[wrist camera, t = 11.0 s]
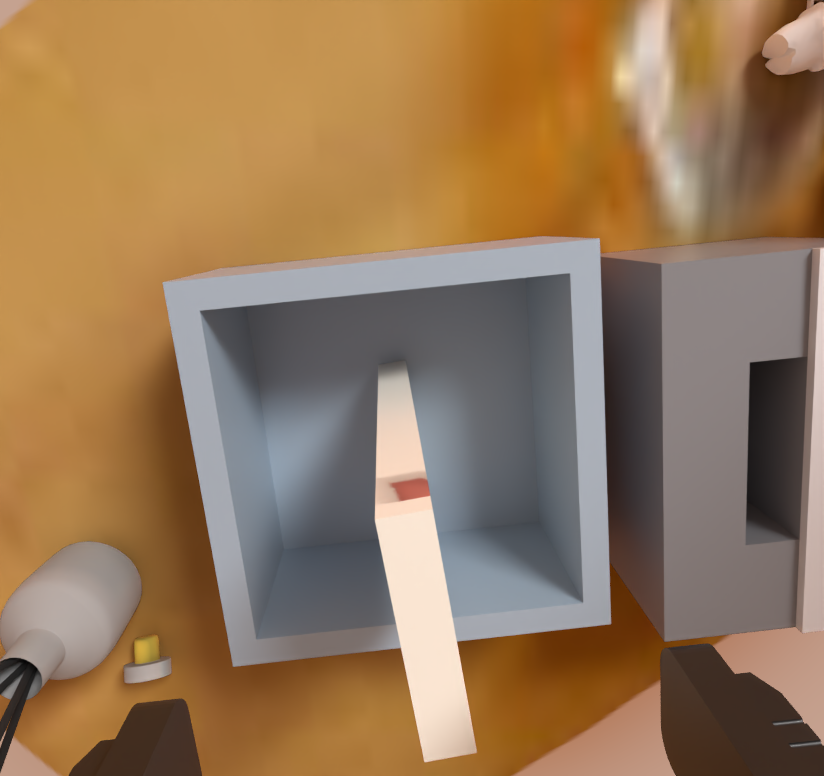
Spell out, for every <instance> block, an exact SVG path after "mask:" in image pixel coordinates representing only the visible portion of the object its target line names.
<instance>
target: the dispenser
mask: <svg viewBox="0 0 824 776" xmlns="http://www.w3.org/2000/svg"><path fill="white" fill-rule="evenodd" d="M600 263H601V297H602V331H603V365H604V399H605V433H606V467H607V501H608V535H609V562H610V563H611V565H612V566H613V567H614V569H615V570H616V572H617V573H618V575H619V576H620V578H621V579H622V581H623V582H624V583H625V585H626V586H627V588H628V589H629V591H630V592H631V594H632V595H633V597H634V598H635V599H636V601H637V602H638V604H639V605H640V607H641V608H642V610H643V611H644V613H645V614H646V616H647V617H648V618H649V620H650V621H651V623H652V624H653V626H654V627H655V629H656V630H657V632H658V633H659V634H660V636H661V637H662V639H663V640H664V642H668V641H676V640H685V639H694V638H703V637H712V636H720V635H729V634H738V633H747V632H755V631H764V630H773V629H782V628H791V627H796V628H797V629H798V630H800V632H802V633H809V632H817V631H824V238H799V237H759V238H749V239H740V240H730V241H720V242H710V243H700V244H690V245H680V246H670V247H660V248H650V249H640V250H631V251H621V252H611V253H601V254H600Z"/></svg>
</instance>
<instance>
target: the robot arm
mask: <svg viewBox="0 0 824 776" xmlns="http://www.w3.org/2000/svg"><path fill="white" fill-rule="evenodd" d="M660 672H661V731H662V738H663V742H664V747H665V750H666V754H667V756H668V760H669V762H670V765H671V767H672V769H673V771H674V773H675V775H676V776H824V746H822V744H821V740H820V739H819V737H818V736H817V735H816V734H815V733H814V732H813V730H812V729H811V728H810V727H809V726H808V725H807V724H804V722H803V720H802V718H801V716H800V715H799V714H798V713H797V711H796V710H795V709H794V708H793V707H792V705H790V703H789V702H788V701H787V699H786V698H785V697H784V696H783V695H782V693H780V692H779V691H777V690H776V689H774V688H773V687H771V686H770V685H768V684H767V683H765V682H764V681H762V680H761V679H759V678H758V677H756V676H755V675H753V674H752V673H750V672H749V673H740V674H734V673H733V671H732V670H731V669H730V667H729V666H728V665H727V664H726V662H725V661H724V660H723V658H722V657H721V656H720V654H719V653H718V652H717V651H716V650H715V648H714V647H713V646H712V645H710V644H699V645H689V646H680V647H671V648H664V649H663V650H662V652H661V659H660ZM69 776H202V773H201V767H200V763H199V758H198V753H197V748H196V743H195V739H194V734H193V729H192V724H191V719H190V715H189V710H188V706H187V704H186V702H185V700H183V699H172V700H163V701H154V702H145V703H137V704H135V705H134V706H133V707H132V709H131V711H130V712H129V714H128V716H127V718H126V720H125V722H124V724H123V726H122V727H121V729H120V731H119V733H118V735H117V737H116V739H113V740H104V741H100V742H99V743H98V744H97V745H96V746H95V747H94V748H93V749H92V750H91V751H90V752H89V753H88V754H87V755H86V756H85V757H84V758H83V759H82V760H81V761H80V762H78V763H77V764H76V765H75V766H74V767H73V769H72V771H71V772H70V774H69Z"/></svg>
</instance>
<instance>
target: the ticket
mask: <svg viewBox="0 0 824 776" xmlns="http://www.w3.org/2000/svg"><path fill="white" fill-rule="evenodd" d="M375 523H376V528H377V533H378V538H379V543H380V548H381V552H382V557H383V562H384V567H385V572H386V577H387V582H388V587H389V591H390V596H391V601H392V606H393V611H394V616H395V621H396V626H397V630H398V635H399V640H400V645H401V650H402V655H403V660H404V665H405V669H406V674H407V679H408V684H409V689H410V694H411V699H412V703H413V708H414V713H415V718H416V723H417V728H418V733H419V738H420V742H421V747H422V752H423V757H424V762H429V761H434V760H440V759H445V758H451V757H456V756H462V755H467V754H473V753H477V750H476V744H475V739H474V733H473V728H472V722H471V717H470V711H469V706H468V700H467V695H466V689H465V684H464V678H463V673H462V667H461V662H460V656H459V651H458V645H457V640H456V634H455V629H454V623H453V618H452V612H451V607H450V601H449V596H448V590H447V585H446V579H445V574H444V568H443V563H442V557H441V552H440V546H439V541H438V535H437V530H436V524H435V519H434V513H433V508H432V502H431V497H430V491H429V486H428V481H427V475H426V470H425V464H424V459H423V453H422V448H421V442H420V437H419V431H418V426H417V421H416V415H415V410H414V404H413V399H412V393H411V388H410V382H409V377H408V371H407V366H406V361H405V360H402V361H397V362H391V363H386V364H380V365H378V404H377V447H376V490H375Z"/></svg>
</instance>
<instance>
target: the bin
mask: <svg viewBox="0 0 824 776" xmlns="http://www.w3.org/2000/svg"><path fill="white" fill-rule="evenodd" d="M163 287H164V293H165V298H166V304H167V309H168V314H169V320H170V325H171V331H172V336H173V342H174V347H175V353H176V358H177V364H178V369H179V374H180V380H181V385H182V391H183V396H184V402H185V407H186V413H187V418H188V423H189V429H190V434H191V440H192V445H193V451H194V456H195V462H196V467H197V473H198V478H199V483H200V489H201V494H202V500H203V505H204V511H205V516H206V522H207V527H208V533H209V538H210V543H211V549H212V554H213V560H214V565H215V571H216V576H217V582H218V587H219V592H220V598H221V603H222V609H223V614H224V620H225V625H226V631H227V636H228V642H229V647H230V652H231V658H232V663H233V667H236V666H245V665H254V664H262V663H271V662H280V661H289V660H298V659H307V658H316V657H324V656H333V655H342V654H351V653H360V652H369V651H378V650H387V649H395V648H401V645H400V640H399V635H398V630H397V626H396V621H395V616H394V611H393V606H392V601H391V596H390V591H389V587H388V582H387V577H386V572H385V567H384V562H383V557H382V552H381V548H380V543H379V538H378V533H377V528H376V523H375V490H376V447H377V404H378V365H380V364H386V363H391V362H397V361H402V360H405V361H406V366H407V371H408V377H409V382H410V388H411V393H412V399H413V404H414V410H415V415H416V421H417V426H418V431H419V437H420V442H421V448H422V453H423V459H424V464H425V470H426V475H427V481H428V486H429V491H430V497H431V502H432V508H433V513H434V519H435V524H436V530H437V535H438V541H439V546H440V552H441V557H442V563H443V568H444V574H445V579H446V585H447V590H448V596H449V601H450V607H451V612H452V618H453V623H454V629H455V634H456V640H457V642H458V641H466V640H475V639H484V638H493V637H502V636H511V635H520V634H528V633H537V632H546V631H555V630H564V629H573V628H582V627H591V626H599V625H608V624H611V603H610V569H609V535H608V501H607V467H606V433H605V399H604V365H603V331H602V297H601V263H600V239H597V238H573V237H548V236H539V237H529V238H519V239H509V240H499V241H489V242H479V243H469V244H459V245H449V246H439V247H429V248H419V249H409V250H399V251H389V252H379V253H369V254H359V255H349V256H340V257H330V258H320V259H310V260H300V261H290V262H280V263H270V264H260V265H250V266H240V267H230V268H221V269H217V270H213V271H208V272H204V273H200V274H196V275H192V276H188V277H184V278H179V279H175V280H171V281H167V282H163Z"/></svg>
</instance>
